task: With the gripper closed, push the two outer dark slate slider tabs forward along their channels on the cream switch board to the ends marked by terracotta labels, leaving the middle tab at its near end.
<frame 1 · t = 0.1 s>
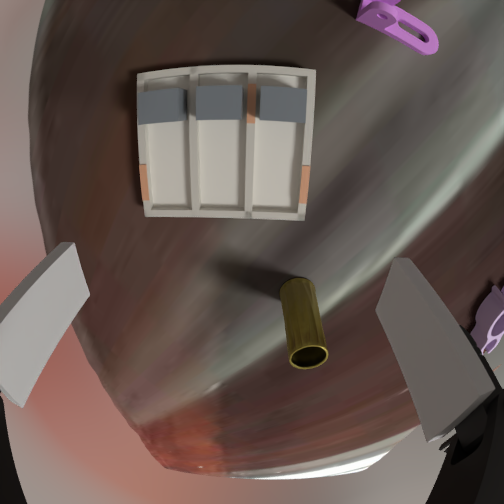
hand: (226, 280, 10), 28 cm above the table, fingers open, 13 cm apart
vase: (297, 291, 45), on the table
clip: (487, 312, 50), on the table
switch board: (224, 140, 33), on the table
slider A: (163, 106, 28), point 4 cm above the table, slide at 0.0 cm
bracket: (398, 26, 23), on the table
slider C: (281, 104, 28), point 4 cm above the table, slide at 0.0 cm
slider B: (220, 103, 28), point 4 cm above the table, slide at 0.0 cm
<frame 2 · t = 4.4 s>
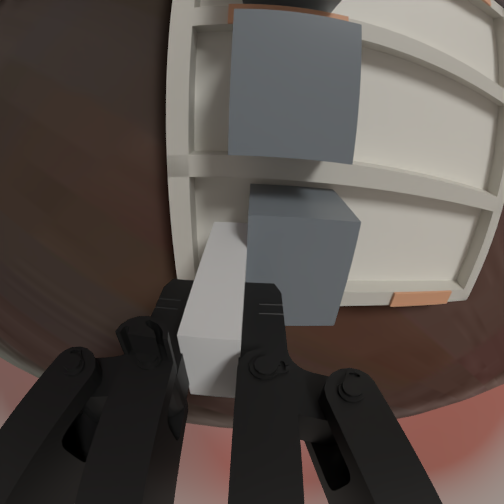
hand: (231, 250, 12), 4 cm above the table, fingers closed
switch board: (372, 107, 12), on the table
slider A: (292, 253, 12), point 4 cm above the table, slide at 0.7 cm, touching gripper
slider B: (289, 86, 9), point 4 cm above the table, slide at 0.0 cm
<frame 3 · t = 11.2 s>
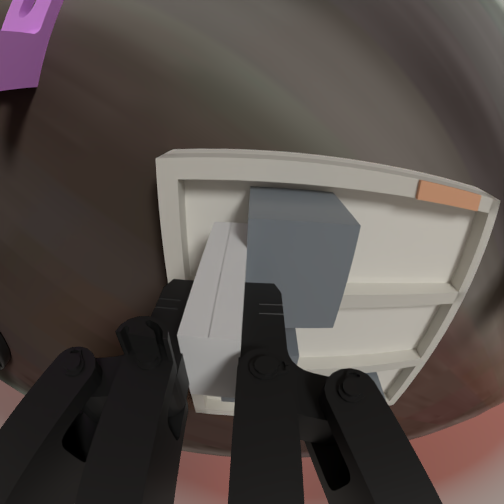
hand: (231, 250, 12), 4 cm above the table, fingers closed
switch board: (325, 315, 19), on the table
slider A: (349, 403, 19), point 4 cm above the table, slide at 8.2 cm
bracket: (40, 9, 7), on the table
slider C: (292, 255, 12), point 4 cm above the table, slide at 1.3 cm, touching gripper
slider B: (255, 355, 16), point 4 cm above the table, slide at 0.0 cm
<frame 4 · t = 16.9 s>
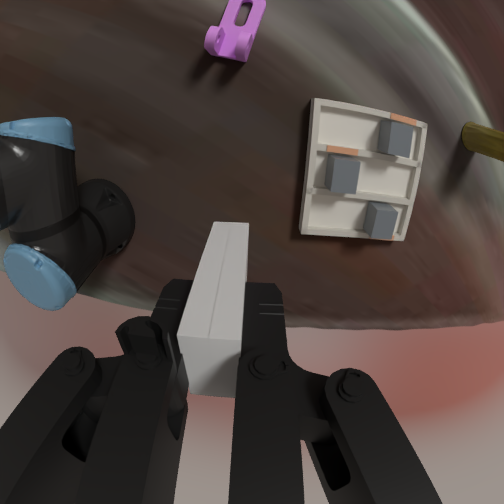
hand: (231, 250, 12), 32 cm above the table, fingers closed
vase: (470, 136, 36), on the table
switch board: (362, 172, 41), on the table
slider A: (380, 220, 42), point 4 cm above the table, slide at 8.2 cm
bracket: (240, 24, 30), on the table
slider C: (395, 138, 35), point 4 cm above the table, slide at 8.2 cm
slider B: (341, 173, 38), point 4 cm above the table, slide at 0.0 cm
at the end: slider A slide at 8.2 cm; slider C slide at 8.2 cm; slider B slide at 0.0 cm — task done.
